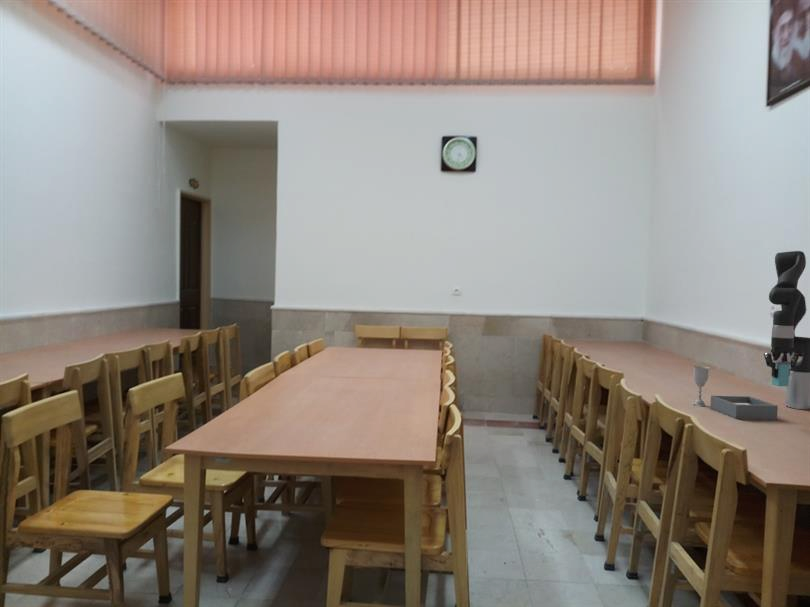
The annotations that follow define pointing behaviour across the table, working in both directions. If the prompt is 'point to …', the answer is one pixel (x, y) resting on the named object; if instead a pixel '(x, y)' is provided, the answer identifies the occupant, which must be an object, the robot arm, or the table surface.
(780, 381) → the peg
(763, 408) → the walled box
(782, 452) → the table surface
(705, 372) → the chalice
